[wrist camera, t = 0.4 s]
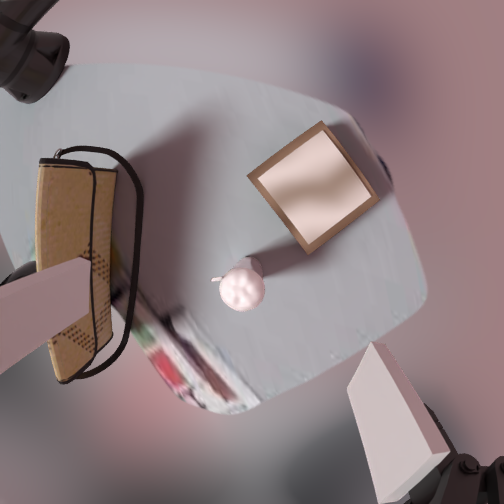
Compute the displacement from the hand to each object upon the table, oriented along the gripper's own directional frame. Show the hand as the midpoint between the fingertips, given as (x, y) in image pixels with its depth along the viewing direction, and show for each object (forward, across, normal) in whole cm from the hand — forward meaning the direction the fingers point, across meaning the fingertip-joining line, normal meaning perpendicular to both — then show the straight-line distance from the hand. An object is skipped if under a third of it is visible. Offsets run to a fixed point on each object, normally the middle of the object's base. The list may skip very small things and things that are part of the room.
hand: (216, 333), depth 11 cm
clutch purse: (+24, -19, -7) cm, 31 cm away
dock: (+24, +5, +8) cm, 26 cm away
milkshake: (+24, 0, -3) cm, 24 cm away
